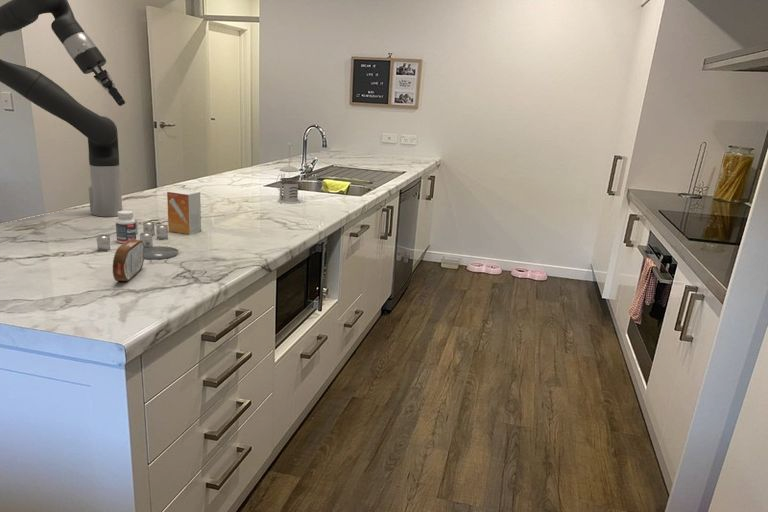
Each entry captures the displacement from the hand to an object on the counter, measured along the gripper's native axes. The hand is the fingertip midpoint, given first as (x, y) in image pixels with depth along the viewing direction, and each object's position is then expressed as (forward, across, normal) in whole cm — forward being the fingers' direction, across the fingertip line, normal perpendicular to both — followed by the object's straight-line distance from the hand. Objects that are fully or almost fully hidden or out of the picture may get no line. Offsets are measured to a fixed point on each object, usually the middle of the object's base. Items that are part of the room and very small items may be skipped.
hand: (121, 102), depth 165 cm
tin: (+41, +38, -23) cm, 60 cm away
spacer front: (+39, +4, -14) cm, 42 cm away
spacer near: (+32, +14, -28) cm, 45 cm away
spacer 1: (+33, -3, -21) cm, 39 cm away
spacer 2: (+38, +13, -18) cm, 44 cm away
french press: (+58, -52, +31) cm, 84 cm away
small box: (+42, -5, -8) cm, 43 cm away
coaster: (+41, +20, -17) cm, 48 cm away
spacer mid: (+36, -1, -17) cm, 40 cm away
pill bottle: (+34, +6, -23) cm, 41 cm away
